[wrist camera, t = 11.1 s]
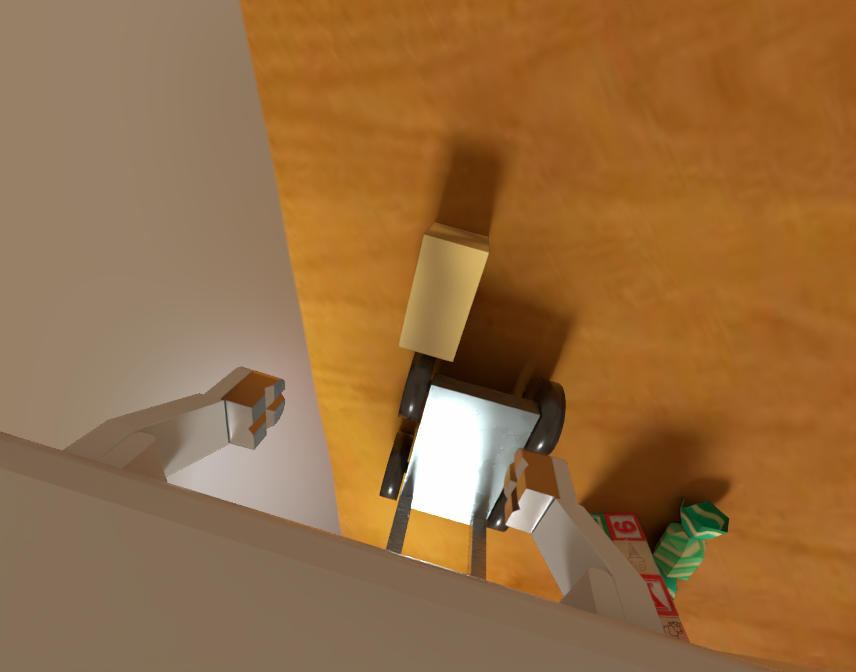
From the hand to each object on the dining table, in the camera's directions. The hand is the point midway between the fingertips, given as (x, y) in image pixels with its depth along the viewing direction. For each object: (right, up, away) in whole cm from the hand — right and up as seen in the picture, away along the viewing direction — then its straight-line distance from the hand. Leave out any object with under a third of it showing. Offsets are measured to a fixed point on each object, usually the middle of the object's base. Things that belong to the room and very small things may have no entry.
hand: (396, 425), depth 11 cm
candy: (+27, -18, +24) cm, 40 cm away
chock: (+3, +7, +15) cm, 17 cm away
